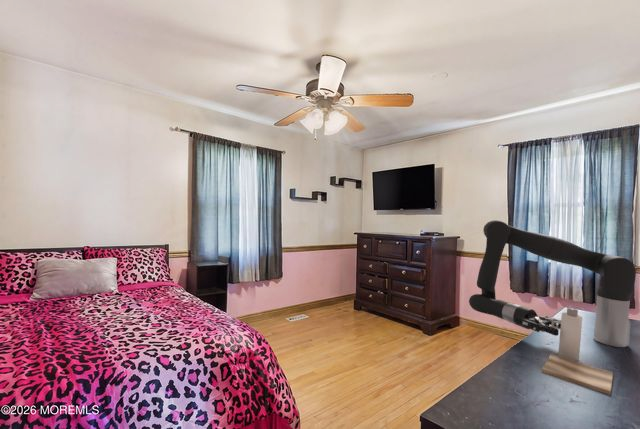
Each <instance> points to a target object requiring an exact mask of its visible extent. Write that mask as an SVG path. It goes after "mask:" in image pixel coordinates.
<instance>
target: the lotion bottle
mask: <svg viewBox="0 0 640 429" xmlns="http://www.w3.org/2000/svg"><path fill="white" fill-rule="evenodd" d="M578 312H579V310H578V309H575V308H572V307H567V308H566V312H561V319H560V320H561V328H560V329H559V330H560V331H559V341H558V353H557V354H558V355H557V356H560V357H563V358H566V359H570V360H573V361H576V362H579V360H580V353H581V352H580V351H581V341H582V339H581V338H582V331H583V330H582V328H583V316H581V315H579V314H578Z"/></svg>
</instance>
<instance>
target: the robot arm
mask: <svg viewBox="0 0 640 429" xmlns="http://www.w3.org/2000/svg"><path fill="white" fill-rule="evenodd" d="M483 235H484V237H485V238H486V245H485V251H484V256H483V259H482V260H481V264H480V266H479V270H478V275H477V280H476V286H477V288H479V289H481V293H480V294H479V293H475V294H473V295H470V297H469V300H468V303H469V306H470V308H472V309H473V310H474V311H476V312H478V313H482V314H486V315H491V316H494V317H496V318H499V319H501V320H504V321H506V322H509V323H511V324H513V325H515V326H518V327H521V328H524V329H527V330H532V331H535V332H537V333H540V332H542V333H548V334H550V335H552V336H555V337H557V336H559V334H560V331H559V330H560V328H561V319H559V318H558V319H557V318H555V317H551V316H548V315H545V316H541V315H538V314H537V312H536V310H534V308H533V309H532V308H530V307H527V306H523V305H520V304H516V303H511V302H508V301H505V300H501V299H497V297H496V283H497V278H498V272H499V268H500V263H501V259H502V255H503V253H504V249H505V246H506V244H507V245H512V246H514V247H518V248H519V249H522V250H524V251H527V252H528V253H530V254H532V255H536V256H538V257H541V258H543V259H546V260H550V261H554V262H556V263H561V264H564V265H572V266H577V267H580V268H583V269H586V270H588V271H591V272H593V273H595V274H598V275H599V276H602V277H603V278H602V285H601V286H600V287H598V288H597V291H596V292H597V293H596V304H595V315H594V316H595V318H594V329H593V339H594V340H595V341H596V342H599V343H601V344H604V345H606V346H612V347H616V348H626V347H629V345H630V336H631V335H630V333H631V325H632V324H631V323H632V322H631V320H630V319H629V316H630V303H631V302H630V301H631V297H632V295H633V293H634V292H635V283H636V278H637V275H636V274H637V273H636V271H637V269H636V266H635V264H634V263H633V261H631V260H630V259H628V258H626V257H622V256H619V255H613V254H607V253H603V252H599V251H593V250H589V249H586V248H583V247H582V246H578V245H576V244H575V243H573V242H570V241H568V240H565V239H561V238H558V237H555V236H551V235H548V234H543V233H539V232H533V231H529V230H523V229H520V228H516V227H515V226H512V225H509V224H507V223H506V222H504V221H502V220H491V221H487V223H486V224H484V226H483Z"/></svg>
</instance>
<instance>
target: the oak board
mask: <svg viewBox="0 0 640 429" xmlns="http://www.w3.org/2000/svg"><path fill="white" fill-rule="evenodd" d="M541 372H542V373H545V374H547V375H550V376H553V377H556V378H559V379H561V380H565V381H568V382H571V383H574V384H576V385H580V386H583V387H586V388H588V389H591V390H595V391H596V392H597V391H598V392H601V393H603V394H605V395H609V396H611V393H612V386H613V377H614V372H612V371H609V370H605V369H603V368H600V367H596V366H592V365H589V364H586V363H582V362H579V361H573V360H570V359H566V358H563V357H561V356H559V355H557V354H552V353H551V354H550V355H549V357H548V359H546V362H545V363H544V365H543V366H542V368H541Z"/></svg>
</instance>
